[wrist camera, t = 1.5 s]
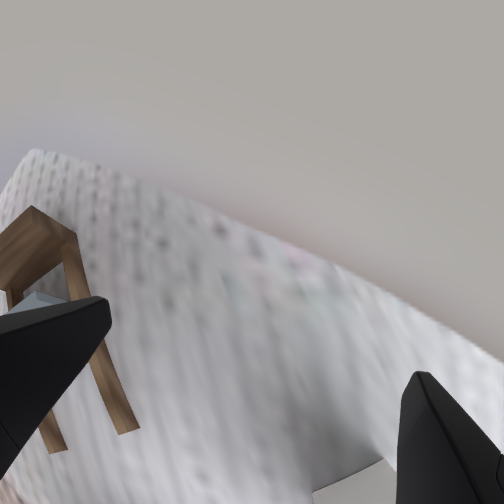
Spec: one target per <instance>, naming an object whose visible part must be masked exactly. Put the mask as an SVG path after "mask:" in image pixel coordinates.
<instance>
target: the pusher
mask: <svg viewBox="0 0 504 504" xmlns="http://www.w3.org/2000/svg"><path fill="white" fill-rule="evenodd" d="M64 302H69V301H66V300H63V299H60V298H56V297H53V296H50V295H47V294H44V293H41V292H38V291H34V292H33V293H31V294H30V295H29V296H28V297H26V298H25V299H24V300H22V301H21V302H20V303H19V304H17V305H16V306H15V307H14V308H12V309H11V310H10V311H9V312H7V313H6V314H11V313H16V312H21V311H26V310H31V309H35V308H40V307H45V306H50V305H55V304H60V303H64ZM6 314H5V315H6Z"/></svg>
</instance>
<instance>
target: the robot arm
mask: <svg viewBox="0 0 504 504" xmlns="http://www.w3.org/2000/svg"><path fill="white" fill-rule="evenodd" d="M111 326H112V318H111V312H110V306H109V302H108V300H107V299H105V298H102V297H99V296H93V297H88V298H84V299H79V300H74V301H69V302H64V303H60V304H55V305H50V306H45V307H40V308H35V309H31V310H26V311H21V312H16V313H11V314H6V315H2V316H0V480H1V479H2V477H3V476H4V474H5V473H6V471H7V470H8V469H9V467H10V466H11V464H12V463H13V461H14V460H15V458H16V457H17V456H18V454H19V453H20V451H21V449H22V448H23V447H24V445H25V444H26V442H27V441H28V440H29V438H30V437H31V436H32V434H33V433H34V431H35V430H36V429H37V427H38V426H39V425H40V423H41V422H42V421H43V419H44V418H45V417H46V415H47V414H48V413H49V411H50V410H51V409H52V407H53V406H54V405H55V404H56V402H57V401H58V400H59V398H60V397H61V396H62V394H63V393H64V392H65V391H66V389H67V388H68V387H69V386H70V384H71V383H72V382H73V380H74V379H75V378H76V377H77V375H78V374H79V373H80V372H81V370H82V369H83V368H84V367H85V365H86V364H87V363H88V361H89V360H90V358H91V357H92V355H93V354H94V352H95V351H96V349H97V348H98V346H99V345H100V343H101V342H102V340H103V339H104V337H105V336H106V334H107V333H108V331H109V330H110V328H111ZM396 504H504V455H503V454H501V452H500V450H499V449H498V448H497V447H496V446H495V444H494V443H493V442H492V441H491V440H490V439H489V438H488V436H487V435H486V434H485V433H484V432H483V431H482V429H481V428H480V427H479V426H478V425H477V424H476V423H475V422H474V420H473V419H472V418H471V417H470V416H469V415H468V414H467V413H466V412H465V410H464V409H463V408H462V407H461V406H460V405H459V404H458V403H457V402H456V400H455V399H454V398H453V397H452V396H451V395H450V394H449V393H448V392H447V391H446V390H445V389H444V387H443V386H442V385H441V384H440V383H439V382H438V381H437V380H436V379H435V378H434V377H433V376H432V375H431V374H430V373H429V372H423V371H416V372H414V373H413V375H412V377H411V379H410V381H409V383H408V385H407V387H406V388H405V390H404V392H403V395H402V399H401V411H400V424H399V435H398V446H397V486H396Z"/></svg>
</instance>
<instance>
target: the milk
mask: <svg viewBox="0 0 504 504" xmlns="http://www.w3.org/2000/svg"><path fill="white" fill-rule="evenodd" d="M396 486H397V473H396V472H395V471H394V469H393V468H392V467H391V466H390V465H389V463H388V462H387V461H386V460H385V459H382V460H381V461H379V462H377V463H375V464H373V465H371V466H369V467H367V468H365V469H363V470H361V471H359V472H357V473H355V474H353V475H351V476H349V477H347V478H345V479H343V480H341V481H338V482H336V483H334V484H332V485H329V486H327V487H324V488H322V489H320V490H317V491H315V492H313V493H312V494H313V504H396Z"/></svg>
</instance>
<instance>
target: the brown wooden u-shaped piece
mask: <svg viewBox="0 0 504 504" xmlns="http://www.w3.org/2000/svg"><path fill="white" fill-rule="evenodd" d="M62 261H63V266H64V271H65V276H66V281H67V286H68V290H69V294H70V299H71V301H74V300H79V299H84V298H88V297H91V296H90V292H89V288H88V285H87V281H86V277H85V273H84V268H83V264H82V260H81V255H80V251H79V246H78V241H77V236H76V233H74V232H73V231H71V230H69V229H68V228H66V227H65V226H63V225H61V224H60V223H58V222H57V221H55V220H54V219H52V218H50V217H49V216H47V215H46V214H44V213H43V212H41V211H40V210H38V209H37V208H35V207H34V206H32V205H31V206H30V207H29V208H27V209H26V210H25V211H24V212H23V213H22V214H21V215H20V216H19V217H18V218H17V219H15V220H14V221H13V222H12V223H11V224H10V225H9V226H8V227H7V228H6V229H5V230H4V231H3V232H2V233H1V234H0V290H2V291H5V292H6V297H7V305H8V312H9V311H10V310H11V309H12V308H14V307H15V306H16V305H17V304H19V303H20V302H21V301H22V300H24V299H23V291H24V290H26V289H27V288H28V287H29V286H31V285H32V284H33V283H34V282H36V281H37V280H38V279H40V278H41V277H42V276H44V275H45V274H46V273H47V272H49V271H50V270H51V269H53V268H54V267H55V266H57V265H58V264H59V263H61V262H62ZM89 364H90V367H91V369H92V372H93V375H94V378H95V381H96V383H97V386H98V388H99V391H100V394H101V396H102V399H103V401H104V403H105V406H106V408H107V411H108V413H109V415H110V418H111V420H112V422H113V424H114V426H115V429H116V431H117V433H118V435H121V434H124V433H127V432H130V431H133V430H136V429H138V428H140V427H139V425H138V423H137V421H136V418H135V416H134V414H133V412H132V410H131V407H130V405H129V403H128V401H127V398H126V396H125V394H124V391H123V389H122V386H121V384H120V382H119V379H118V377H117V374H116V371H115V369H114V366H113V364H112V361H111V358H110V355H109V353H108V350H107V347H106V344H105V341H104V339H103V340H102V342H101V343H100V345H99V346H98V348H97V349H96V351H95V352H94V354H93V355H92V357H91V358H90V360H89ZM38 428H39V430H40V433H41V435H42V438H43V440H44V443H45V445H46V447H47V450H48V452H49V454H52V453H56V452H60V451H64V450H68V449H67V446H66V444H65V442H64V439H63V437H62V435H61V432H60V430H59V427H58V425H57V422H56V420H55V417H54V414H53V412H52V409H51V410H50V411H49V413H48V414H47V415H46V417H45V418H44V419H43V421H42V422H41V423H40V425H39V426H38Z"/></svg>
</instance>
